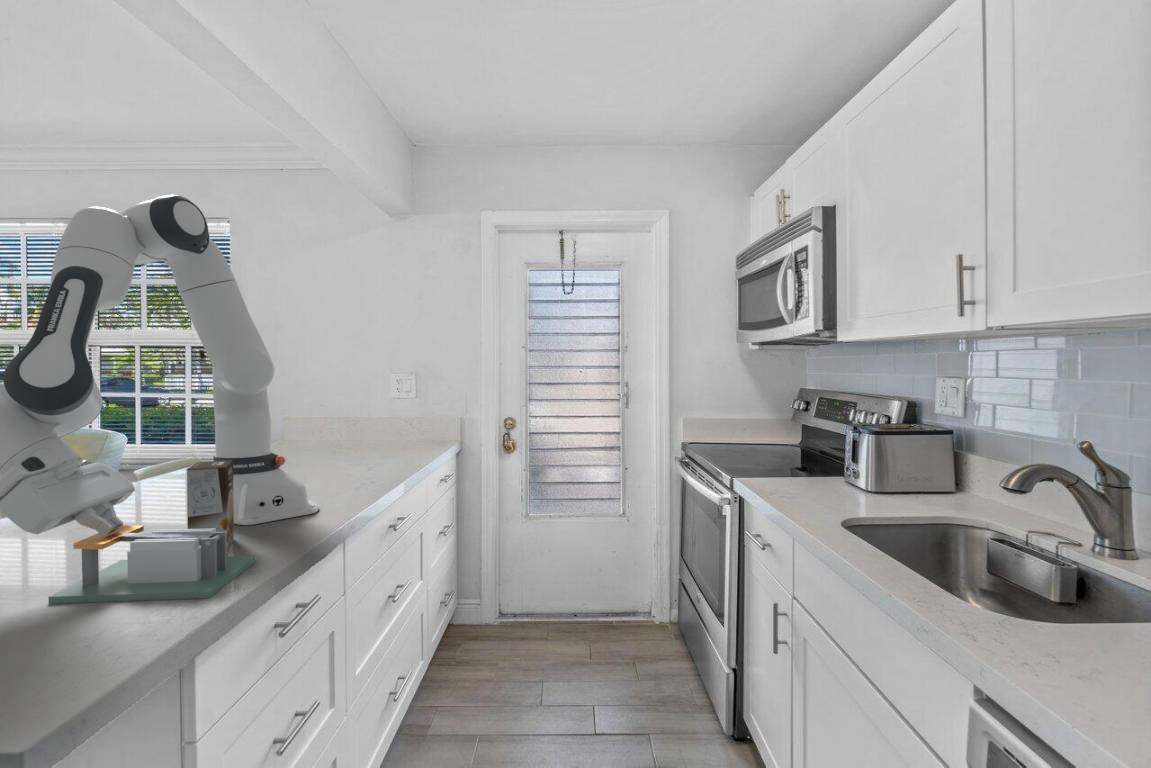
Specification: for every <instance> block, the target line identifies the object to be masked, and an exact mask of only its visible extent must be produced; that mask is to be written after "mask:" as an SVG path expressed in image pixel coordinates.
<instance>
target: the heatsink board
mask: <svg viewBox="0 0 1151 768" xmlns="http://www.w3.org/2000/svg"><path fill="white" fill-rule="evenodd" d="M151 534H182V535H212V538H202V539H201V543H199V538H175V539H136V540H134V541H132V542H130V541H129V550H127V552H126V554H127V559H121V560H119V561H116V562H114V563H112V564H110V565H109V566H106V567H104V568H102V569H101V570H99V568H100V567H99V549H81V576H82V577H81V580H79V581H77V582H74V583H73V584H71V585H69V586H67V587H65V588H63V589H61V590H59V591H57V592H55V593H54V594H51V595H49V596H48V597H47V598H48V604H49V605H50V604H75V603H76V604H77V603H81V604H82V603H102V602H103V603H106V602H109V601H110V602H133V601H135V600H136V602H137V601H161V600H162V601H166V600H167V601H168V600H188V599H189V600H190V599H195V600H196V599H210V598H211V597H212V596H214V595H215V594H216V593H218V592H219V591H220V590H221V589H223V588H224V587H225V586H226V585H228V584H229V583H231V582H232V581H233V580H235V579H236V578H237V577H238V576H240V575H241V574H242V573H243V572H245V571H246V570H247V569H249V567H251V566H252V565H254V564H255V563H256V562H257V560H256V559H257V558H256V556H255V555H254V556H253V555H252V556H251V555H250V556H228V550H227V531H226V532H216V528H208V529H188V528H172V529H171V528H169V529H168V528H167V529H166V528H165V529H164V528H163V529H155V530H153V531H152V532H151ZM132 600H133V601H132Z"/></svg>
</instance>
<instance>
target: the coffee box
mask: <svg viewBox="0 0 1151 768" xmlns="http://www.w3.org/2000/svg"><path fill="white" fill-rule="evenodd" d="M186 482H187V483H186V487H187V488H186V492H187V493H186V495H187V496H186V498H187V500H186V501H187V504H186V505H187V509H186V510H187V511H186V512H187V529H208V528H216V532H226V531H227V551H228V550H229V548H230V547H231V545H232V543H233V542H234V541H235V524H234V487H233V460H222V461H213V460H210V461H198V462H196V463H194V464H193V465H190V466H189V467H188V468H187V469H186Z"/></svg>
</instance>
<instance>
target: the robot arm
mask: <svg viewBox="0 0 1151 768" xmlns="http://www.w3.org/2000/svg"><path fill="white" fill-rule="evenodd" d="M59 240H60V241H59V243H58V246H57V248H56V252H55V256H54V260H53V263H52V269H51V276H50V287H49V290H48V292H47V296H46V298H45V300H44V304H43V307H42V310H41V313H40V315H39V318H38V321H37V323H36V326H35V329H34V332H33V335H32V336H31V338H30V339H29V340H28V342H27V344H26V345H24V347H23V348H22V349H20V351H19V352H18V353H17V354H16V355H15V356H13V358H12V359H11V360H10V361H9V363H8V364H7V366H6V368H5V370H4V373H3V382H0V512H1V513H2V514H3V515H4V516H5V517H7V519H9V520H10V521H11V522H12V523H13V524H15V525H16V526H17V527H19V529H21V530H22V531H24V532H26V533H30V534H33V535H39V534H42V533H45V532H47V531H51V530H54V529H56V528H57V527H58V528H59V527H60V526H64V525H66V524H69V523H71V522H74V521H76V522H77V523H78V524H80V525H81V526H83V527H87V528H90V529H92V530H95V531H96V532H97V533H100V534H101V535H102V536H105V535H107V534H110V533H112V532H114V531H117V530H118V529H119V528H121V527H122V526H123V525H124V522H123V520H121V519H120V518H119V517H118V516H117V513H116V510H115V508H114V507H115V506H116V505H117V506H118V505H120V504H121V503H123V502H125V501H126V500H127V499H128V498H129V497H130V496H132V494H133V493H134V492H135V491H136V488H135V485H134V484H133V482H131V481H130V480H129V479H128V478H126V477H125V476H124V475H122V474H121V473H120V472H119V471H117V470H116V469H115V468H113V467H112V466H109V465H108V464H106V463H103V462H95V461H91V460H90V459H83V457H81V455H79V453H77V452H76V451H75V450H74V449H73V448H72V447H70V446H69V445H68V444H67V443H66V442H64V441H63V439H61V438H62V437H64V436H67V435H69V434H71V433H75V432H76V431H78V430H80V429H82V428H84V427H86V426H88V425H90V424H92V422H94V421H95V420H96V419H97V418H98V417H99V415H100V414H101V412H102V409H103V403H104V402H103V397H102V394H101V391H100V389H99V387H98V384H97V383H96V381H95V378H94V373H93V369H92V366H91V364H90V361H89V358H88V357H87V352H86V351H87V349H86V348H87V344H88V341H89V339H90V334H91V331H92V328H93V324H94V321H95V317H96V314H97V312H98V311H99V312H101V311H108V310H111V309H113V308H114V309H115V308H117V307H119V306H120V305H122V304H123V302H124V300H125V299H126V296H127V294H128V292H129V289H130V288H131V284H132V280H133V278H134V277H133V276H134V271H135V268H139V267H144V266H146V265H149V264H154V263H157V262H163V263H165V265H167V266H168V268H169V269H170V270H171V272H172V275H173V279H174V282H175V284H176V287H177V290H178V292H179V295H180V297H181V299H182V301H183V304H184V307H185V309H186V311H187V313H188V316H189V318H190V321H191V323H192V325H193V328H194V330H195V332H196V333H197V336H198V338H199V340H200V342H201V344H202V346H203V349H204V350H205V352H206V354H207V357H208V359H209V361H210V364H211V365H212V367H211V371H212V372H211V373H212V374H211V375H212V394H213V395H212V398H213V411H214V414H213V415H214V438H215V439H214V441H215V443H214V445H215V447H214V448H215V449H214V450H215V451H214V452H215V453H214V454H215V455H214V456H213V459H212V461H222V460H233V487H234V525H242V526H252V525H257V524H263V523H269V522H273V521H274V522H275V521H279V520H284V519H290V518H295V517H301V516H307V515H311V514H316V513H317V512H319V505H318V504H317V502H316V501H314V500H312V499H309V496H308V491H307V487H306V486H305V484H304V483H303V482H302V481H301V480H299V479H298V478H297V477H295V476H294V475H292V474H290V473H289V472H287V471H285V470H283V468H281V466H283V465H285V463H286V461H287V459H286V458H285V457H284V456H282V455H278V454H276V453H273V452H272V438H271V437H272V426H271V424H272V421H271V414H270V407H269V397H268V387H269V385H271V382H272V381H273V379H274V374H275V366H274V363H273V361H272V358H271V356H270V354H269V351H268V349H267V347H266V345H265V343H264V340H263V339H262V337H261V335H260V333H259V331H258V329H257V326H256V324H255V323H254V320H253V319H252V316H251V315H250V313H249V310H248V308H247V305H246V302H245V301H244V298H243V295H242V293H241V290H240V288H239V285H238V282H237V281H236V278H235V276H234V273H233V271H232V269H231V267H230V265H229V263H228V261H227V259H226V258H225V256H224V255H223V253H222V251H221V250H220V248H219V246H218V245H217V243H216V242H215V241H213V240H212V239H211V238H210V232H209V225H208V222H207V220H206V218H205V215H204V212H203V211H202V210H201V209H200V208H199V207H198V206H197V204H195V203H194V202H192V201H191V200H190V199H188V198H187V197H185V196H181V195H177V194H168V195H162V196H161V195H160V196H158V197H155V198H154V199H150V200H145V201H141V202H138V203H136V204H133V205H130V206H128V207H127V208H125V209H123V210H121V211H119V212H117V211H115V210H113V209H110V208H106V207H103V206H102V207H100V206H91V207H90V206H89V207H84V208H82V209H80V210H78V211H77V212H76V213H74V214H73V216H72V218H71V219H70V220H69V222H68V224H67V226H66V227H65V230H64V231H63V234H62V236H61V238H60V239H59Z"/></svg>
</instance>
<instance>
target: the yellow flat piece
mask: <svg viewBox="0 0 1151 768" xmlns="http://www.w3.org/2000/svg"><path fill="white" fill-rule="evenodd" d="M144 527H145V526H144V525H128V524H127V525H126V524H125V525H124V524H123V526H122V527H121V528H119V529H118V530H117V531H114V532H112V533H110V534H107V535H105V536H102V535H101V534H100V533H99V532H97V533H95V534H93V535H91V536H88V537H86V538H83V539H80V540H79V541H77V542H74V543H73V549H75V550H82V549H98V550H104V549H106V548H108V547H111V546H113V545H115V544H117V543H119V542H129V543H130V542H132V541H134V540H136V539H175V538H199V543H201V539H202V538H212V535H182V534H152V533H144V529H145V528H144Z"/></svg>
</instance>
